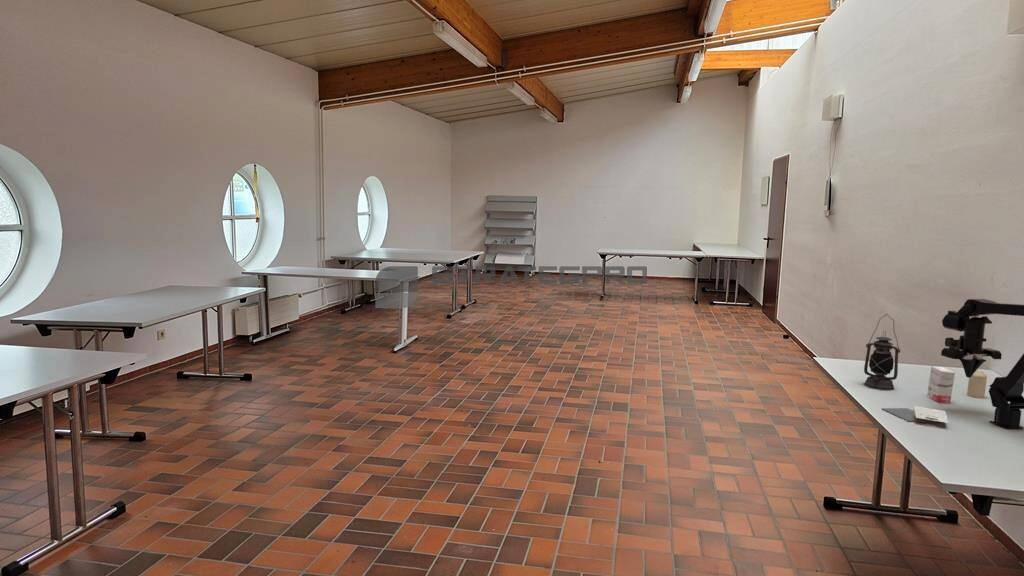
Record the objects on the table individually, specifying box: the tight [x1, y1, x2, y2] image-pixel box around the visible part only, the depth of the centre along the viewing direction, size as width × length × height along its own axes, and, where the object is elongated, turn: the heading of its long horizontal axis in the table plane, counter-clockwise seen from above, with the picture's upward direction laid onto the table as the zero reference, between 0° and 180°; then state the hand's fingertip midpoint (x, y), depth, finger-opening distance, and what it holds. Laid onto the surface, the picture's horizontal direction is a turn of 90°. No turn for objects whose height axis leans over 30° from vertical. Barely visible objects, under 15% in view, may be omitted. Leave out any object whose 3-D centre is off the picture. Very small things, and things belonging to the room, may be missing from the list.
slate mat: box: [881, 407, 937, 423], centre depth 216 cm, size 13×10×1 cm
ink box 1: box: [926, 366, 956, 404], centre depth 236 cm, size 9×5×12 cm, turn 168°
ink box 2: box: [913, 405, 949, 424], centre depth 210 cm, size 3×9×12 cm
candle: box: [966, 369, 988, 399], centre depth 242 cm, size 6×6×10 cm
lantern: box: [863, 313, 901, 391], centre depth 250 cm, size 12×11×30 cm
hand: (968, 377), depth 221 cm, fingers closed
